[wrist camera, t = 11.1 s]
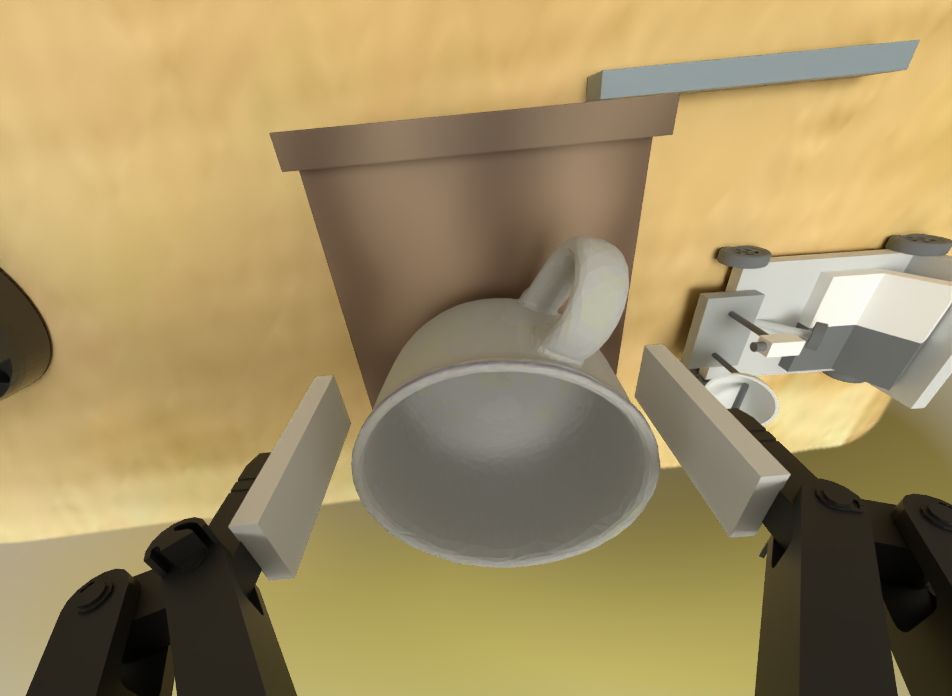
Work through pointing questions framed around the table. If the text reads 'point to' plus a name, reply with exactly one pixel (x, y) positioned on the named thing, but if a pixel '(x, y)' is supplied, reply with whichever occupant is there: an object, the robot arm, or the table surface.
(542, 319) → the teacup
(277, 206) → the table surface
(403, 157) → the walnut stand
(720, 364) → the toy rover
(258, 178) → the table surface
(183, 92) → the table surface
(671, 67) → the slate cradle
